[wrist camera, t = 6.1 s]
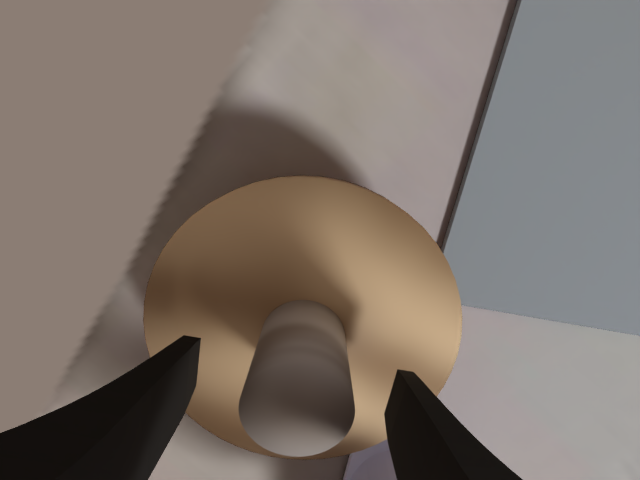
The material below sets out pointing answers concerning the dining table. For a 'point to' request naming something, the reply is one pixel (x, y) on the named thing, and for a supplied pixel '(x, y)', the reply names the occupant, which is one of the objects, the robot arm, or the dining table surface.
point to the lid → (303, 313)
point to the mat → (557, 171)
